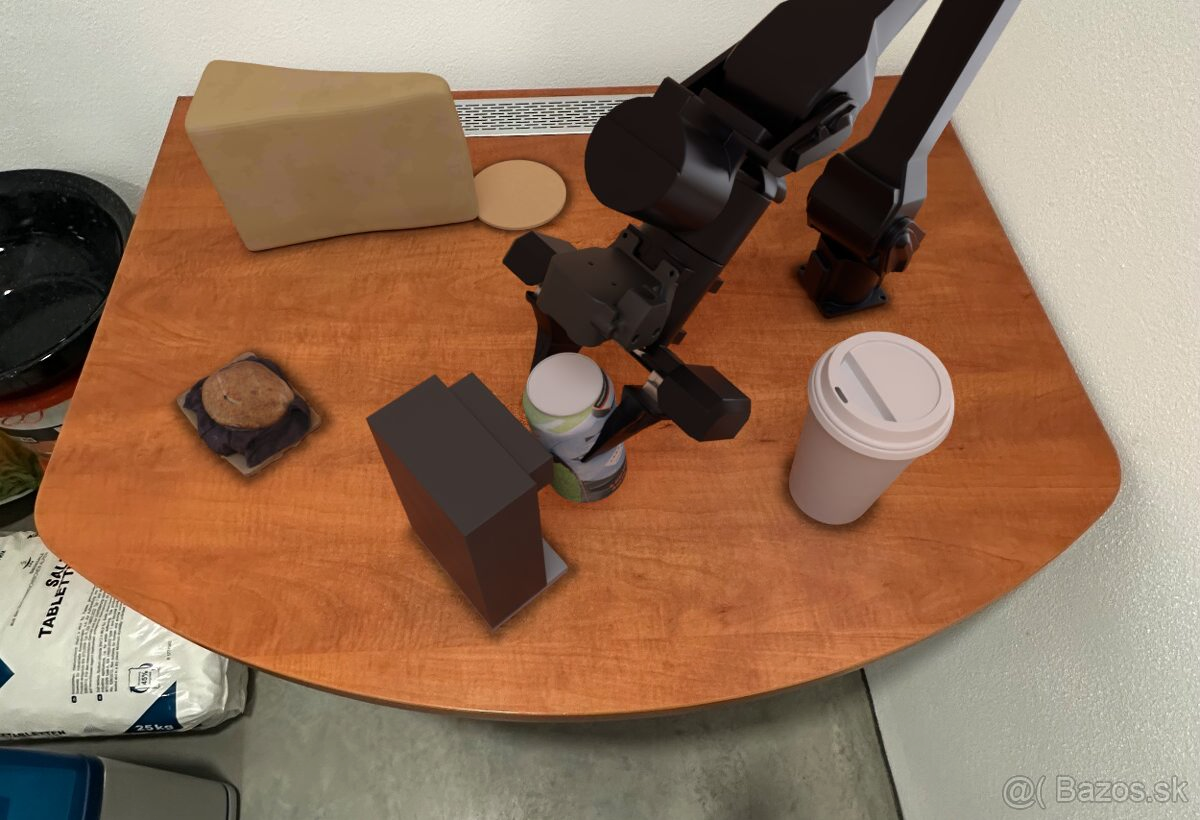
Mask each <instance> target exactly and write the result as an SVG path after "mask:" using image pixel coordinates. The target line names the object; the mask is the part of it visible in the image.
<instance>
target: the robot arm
mask: <svg viewBox="0 0 1200 820" xmlns="http://www.w3.org/2000/svg"><path fill="white" fill-rule="evenodd" d="M928 1H929V0H783V1H781V2H780V3H778V4H777V5H775V7H773V8H772V10H770V11H769V12H768V13H767V14H766V15H765V16H764V17H763V18H762V19H761V20H760V21H759V22H758V23H757V24H755V26H754V27H752V28H751V29H750V30H749V31H748V32H747V33H746V34H745V35H744V36H743V37H742V38H741V39H740V40H739V39H738V41H736V42H734V44H733V45H730V47H728V48H727V49H725V50H724V51H723V52H721V53H720V54H718V55H717V56H715V58H713V59H711V60H710V61H709V62H707V63H706V64H705V65H703V66H702V67H701V68H699V69H697V70H696V71H695V72H693V73H692V74H691V75H689V76H688V77H686V78H685V79H683V81H681V82H678V81H676V80H675V79H674V78H672V77H670V76H669V75H668V76H666V77H664V78H663V79H662V80H661V83H660V84H659V86H658V87H657V89H656V91H655V92H654V93H653V95H652V96H647V95H646V96H635V97H632V98H628V99H625V100H623V101H622V102H620V103H619V104H617V105H615V106H614V107H612V108H611V109H610V110H609V111H608V112H607V113H606V114H605V115H601V116H600V117H599V118H598V120H597V122H596V123H595V125H594V126H593V127H592V130H591V132H590V134H589V137H588V139H587V142H586V147H585V151H584V160H583V161H584V163H583V168H584V174H585V180H586V183H587V185H588V187H589V190H590V192H591V193H592V194H593V197H595V199H596V200H597V201H598V202H599V203H600V204H601V205H602V206H604V207H605V208H608V209H611V210H613V211H615V212H617V213H620V214H622V215H625V216H627V217H630V218H632V219H634V220H637V221H640V222H642V224H641V225H640V226H639V225H636V224H633V223H631V222H629V223H628V225H627V226H626V227H625V228H624V229H622V230H621V231H620V233H619V234H618V235H617V237H616V239H615V240H614V241H613V242H612V243H610V244H609V245H608V246H607V247H599V246H590V247H585V248H579V249H578V248H577V247H576V246H574V245H573V244H572V243H571V242H570V241H568V240H564V239H561V238H558V237H556V236H551V235H548V234H545V233H541V232H539V231H535V230H529V231H527V232H524V233H523V234H520V235H519V236H518V237H516V238H514V239H513V241H512V243H511V244H510V246H509V248H508V250H507V251H506V253H505V254H504V256H503V258H502V261H501V262H502V263H501V264H502V265H504V266H505V267H506V268H507V269H508V270H509V271H510V272H511V273H512V274H513V275H515V276H516V277H517V278H518V280H520V281H521V282H522V283H523V284H524V285H525V286H528V287H535V286H536V288H535V289H534V290H526V291H525V294H524V295H525V300H526V302H528V304H529V305H530V307H531V309H532V311H533V314H534V317H535V321H536V326H537V327H536V329H537V330H536V337H535V345H534V351H533V356H532V360H531V365H530V369H529V374H528V376H529V375H530V374H531V372H532V370H533V369H534V368H535V367H536V366H537V365H538V364H539V363H540V362H541V361H543V360H544V359H546V358H548V357H550V356H553V355H556V354H560V353H578V354H579V353H580V351H581V350H582V349H583V348H596V347H600V346H602V345H603V344H604V343H605V342H608V341H612V340H613V342H615V343H616V344H617V345H618V346H620V348H621V349H622V350H623V351H625V352H626V353H628V354H629V355H630V356H631V357H632V358H633V359H634V360H635V361H636V362H638V363H639V365H641V366H642V367H643V368H644V369H645V370H647V371H648V373H650V374H649V375H648V377H647V379H646V381H645V383H644V384H623V386H622V390H621V394H620V395H621V396H620V399H619V400H620V401H619V403H618V404H617V407H616V408H615V410H614V411H613V412H612V414H611V415H610V416H609V417H608V419H607V420H606V421H605V423H604V425H603V428H602V430H601V432H600V434H599V436H598V438H597V440H596V442H595V443H594V445H593V446H592V448H591V449H590V450H589V452H588V453H587V454H586V455H585V456H584V457H583V458H582V459H580V462H581V463H587V462H589V461H590V460H591V459H593V458H595V457H597V456H599V455H602V454H604V453H606V452H608V451H609V450H611V449H613V448H614V447H616V446H617V445H619V444H621V443H622V442H624V443H625V442H626V441H627V440H629V439H630V438H632V437H633V436H635V435H637V434H638V433H640V432H642V431H644V430H645V429H647V428H650V427H652V426H653V425H656V424H658V423H661V422H666V421H667V422H668V421H669V422H670V421H671V422H672V423H674V424H675V425H676V426H677V427H678V428H679V429H680V430H681V431H682V432H684V433H685V435H686V436H687V437H689V438H691V439H693V440H694V441H696V442H698V443H707V442H717V441H726V440H734V439H735V438H736V436H737V435H738V434H739V433H740V431H742V429H743V428H744V427H745V425H746V424H747V422H748V421H749V420H750V417H751V414H752V399H751V398H750V397H749V396H747V394H745V393H744V392H743V391H742V390H740V389H739V388H738V387H737V385H735V384H734V383H733V382H732V381H730V380H729V379H728V378H727V377H726V376H724V374H722V373H721V372H720V371H719V370H717V368H716V367H714V366H713V365H702V364H692V363H686V362H685V361H683V359H681V358H680V357H679V356H678V355H677V354H676V353H675V352H674V351H672V349H670V348H669V346H670V345H676V346H679V345H680V344H681V343H682V342H683V340H684V338H685V337H687V334H688V332H687V331H686V330H685V329H684V328H683V327H684V326H685V325H686V323H687V322H688V320H689V319H690V317H691V316H692V314H693V313H694V311H695V310H696V309H697V308H698V306H699V304H700V303H701V302H702V300H703V299H704V297H705V296H707V295H706V294H707V293H710V294H713V295H716V294H717V292H718V291H719V290H720V289H721V287H722V286H723V284H724V283H725V280H724V279H723V278H722V277H720V275H721V274H722V273H723V271H724V269H725V268H726V267H727V266H728V264H729V263H730V261H731V260H732V258H733V257H734V255H735V254H736V253H737V251H738V250H739V249H740V247H741V246H742V245H743V243H744V241H745V240H746V238H747V237H748V236H749V235H750V233H751V232H752V230H753V229H754V227H755V226H756V225H757V223H758V222H759V221H760V219H761V218H762V216H763V215H764V213H765V212H766V211H767V209H768V208H769V206H770V205H771V204H772V202H774V203H775V204H777V205H780V204H782V203H783V202H784V201H785V200H786V197H787V192H788V191H787V190H788V186H787V182H786V176H788V175H790V174H792V173H795V174H797V173H798V172H800V171H801V170H802V169H804V168H805V167H807V166H809V165H811V164H813V163H816V162H818V161H820V160H822V159H825V158H826V157H828V156H829V155H831V154H833V153H834V152H836V151H838V150H839V148H840V147H841V145H843V144H844V143H845V142H846V141H847V140H848V139H849V137H850V136H851V134H852V132H853V129H854V128H853V126H854V124H855V122H856V119H857V116H858V115H859V113H860V112H861V111H862V109H863V108H864V107H865V105H866V104H867V103H868V102H869V101H870V99H871V95H872V91H873V87H874V80H875V76H876V70H877V66H878V61H879V58H880V57H881V56H882V54H883V53H884V52H885V51H886V49H887V48H888V47H889V45H890V44H891V43H892V41H893V40H894V39H895V38H896V37H897V36H898V35H899V33H900V32H901V31H902V30H903V29H904V28H905V26H907V25H908V23H909V22H910V21H911V20H912V19H913V18H914V16H915V15H916V14H917V13H918V12H919V11H920V10H921V9H922V8H923V6H924V5H925V4H926V3H927V2H928ZM1022 1H1023V0H941V2H940V4H939V5H938V7H937V9H936V11H935V13H934V15H933V17H932V19H931V21H930V23H929V24H928V26H927V27H926V29H925V31H924V33H923V35H922V36H921V38H920V40H919V42H918V44H917V46H916V48H915V50H914V52H913V54H912V55H911V57H910V58H909V61H908V63H907V64H906V66H905V68H904V70H903V72H902V73H901V76H900V77H899V79H898V81H897V82H896V84H895V86H894V88H893V90H892V92H891V94H890V96H889V98H888V99H887V101H886V103H885V105H884V106H883V109H882V110H881V112H880V114H879V115H878V118H877V119H876V121H875V123H874V125H873V127H872V129H871V130H870V132H869V133H868V134H867V136H866V137H865V138H863V139H861V140H860V141H858V142H857V143H855V144H853V145H852V146H850V147H849V148H847V149H845V150H844V151H843V152H837V153H835V154H834V155H832V156H831V157H830V158H829V159H828V160H827V162H826V164H825V166H824V169H823V171H822V173H821V174H820V175H819V176H818V177H817V179H816V180H815V181H814V182H813V184H812V185H811V187H810V189H809V191H808V193H807V196H806V207H805V213H806V226H807V227H809V228H810V229H814V230H815V231H817V232H818V233H819V234H820V235H819V237H818V239H817V243H816V246H815V249H812V250H811V252H810V254H809V256H808V260H807V263H802V264H800V265H798V266H797V268H796V273H797V275H798V277H799V278H800V280H801V284H802V285H803V286H804V288H805V290H806V291H807V293H808V294H809V296H810V298H811V299H812V300H813V301H814V303H815V305H816V306H817V308H818V309H819V311H820V312H821V314H822V316H823V317H824V318H826V319H834V318H836V317H841V316H844V315H850V314H852V313H856V312H860V311H864V310H868V309H871V308H872V309H873V308H876V307H879V306H884V305H886V304H887V302H888V301H889V297H888V295H887V294H886V293H885V291H884V289H883V288H882V287H881V286H882V284H883V281H884V279H885V277H886V276H887V275H888V274H889V273H892V274H893V273H904V271H906V270H907V269H908V267H909V264H910V263H911V260H912V257H913V255H914V254H915V253H916V252H917V251H918V250H919V249H920V247H921V243H922V242H923V240H924V238H925V237H926V234H927V233H926V232H925V231H924V230H923V229H922V228H921V227H920V226H919V225H918V224H917V223H916V222H915V221H914V220H915V218H916V216H917V215H918V213H919V211H920V209H921V207H922V206H923V204H924V202H925V200H927V199H926V198H927V195H928V157H929V155H930V153H931V152H932V149H933V148H934V146H935V145H936V143H937V141H938V139H939V138H940V136H941V135H942V133H943V131H944V130H945V128H946V127H947V125H948V123H949V122H950V120H951V119H952V116H953V115H954V113H955V112H956V110H957V109H958V107H959V105H960V103H962V100H963V98H964V97H965V95H966V93H967V92H968V90H969V88H970V87H971V86H972V84H973V82H974V80H975V79H976V77H977V76H978V74H979V73H980V70H981V69H982V67H983V65H984V64H985V62H986V61H987V59H988V58H989V55H990V54H991V52H992V50H993V49H994V47H995V46H996V44H997V42H998V41H999V39H1000V38H1001V36H1002V34H1003V33H1004V31H1005V30H1006V28H1007V26H1008V24H1009V23H1010V21H1011V19H1012V18H1013V16H1014V14H1015V13H1016V11H1017V10H1018V9H1019V6H1020V5H1021V3H1022Z"/></svg>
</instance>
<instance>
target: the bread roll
mask: <svg viewBox="0 0 1200 820" xmlns="http://www.w3.org/2000/svg"><path fill="white" fill-rule="evenodd" d="M176 404H177V405H178V407H179V410H180V411H181V412H182V413H183V415H184V416H185V417H186V418H187V420H188V421H189V423H190V424H191V425H192V427H193V428H194V429H195V430H197V434H198V436H199V438H200V439H201V440H203V441H204V443H205V445H206V446H207V447H208V448H209V449H210V450H212V451H213V452H214V455H220V458H221V459H225V460H226V461H227V462H228V464H231V466H232V467H234V468H235V469H236V470H237V472H238V473H241V474H243V476H244V477H246V478H250V477H253V476H254V475H256V474H259V473H261V472H262V470H263V469H266V467H268V465H270V464H271V463H272V462H275V461H277V460H278V459H280V458H282V457H283V456H284V453H285V452H287V451H288V450H290V449H291V448H295V447H296V446H298V445H299V444H300V443H301V442H302V440H303V439H305V438H306V437H308V436H309V435H310V434H311V433H312V432H313V431H315V430H317V429H318V428H319V427H320V426H321V425H322V423H323V421H322V417H321V415H320V414H318V413H317V412H316V411H315V409H314V407H312V406H311V405H310V403H308V402H307V400H306V398H305V397H304V396H303V395H301V393H300V392H299V391H298V390H296V389H295V387H294V386H293V385H292V383H291V382H289V380H288V379H287V378H286V375H285V372H284V371H282V370H281V369H280V367H279V365H278V364H277V363H275V362H274V361H272V360H270V359H267V358H263V357H260V356H257V355H256V354H255V353H254V352H250V351H246V352H243V353H242V354H240V355H239V356H237V357H235V358H234V359H233V360H231V361H230V362H228V363H226V364H225V365H223V366H222V367H220V368H219V369H217V370H215V372H213V373H211V374H210V375H208V376H206V377H204V378H201V379H199V380H198V381H197V382H196V383H195V384H194V385H193V386H191V387H190V388H189V389H187V390H186V391H184V392H183V393H181V394H179V395H178V397H177V398H176Z"/></svg>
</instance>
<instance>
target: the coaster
mask: <svg viewBox="0 0 1200 820" xmlns="http://www.w3.org/2000/svg"><path fill="white" fill-rule="evenodd" d="M474 182H475V187H476V193H477V199H478V205H479V212H478V216H477V217H476V218H477V219H479V220H480V222H483V223H484V224H486V225H489V226H491V227H493V228H496V229H500V230H505V231H526V230H532V229H535V228H538V227H541V226H543V225H545V224H548V223H549V222H550V221H552V220H554V219H555V218H556V217H557V216H558V215H559V213H560V212H561V211H562V209H563V208H564V206H565V204H566V200H567V189H566V188H567V187H566V184H565V182H564V180H563V178H562V177H561V175H560V174H558V172H556V171H555V170H553V168H550V167H549V166H547V165H544V164H543V163H540V162H537V161H534V160H533V161H532V160H525V159H511V160H504V161H501V162H497V163H494V164H491V165H490V166H488V167H486V168H484V169H482V170H481V171H480V172H479V173H477V174H476V175H475V176H474Z"/></svg>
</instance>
